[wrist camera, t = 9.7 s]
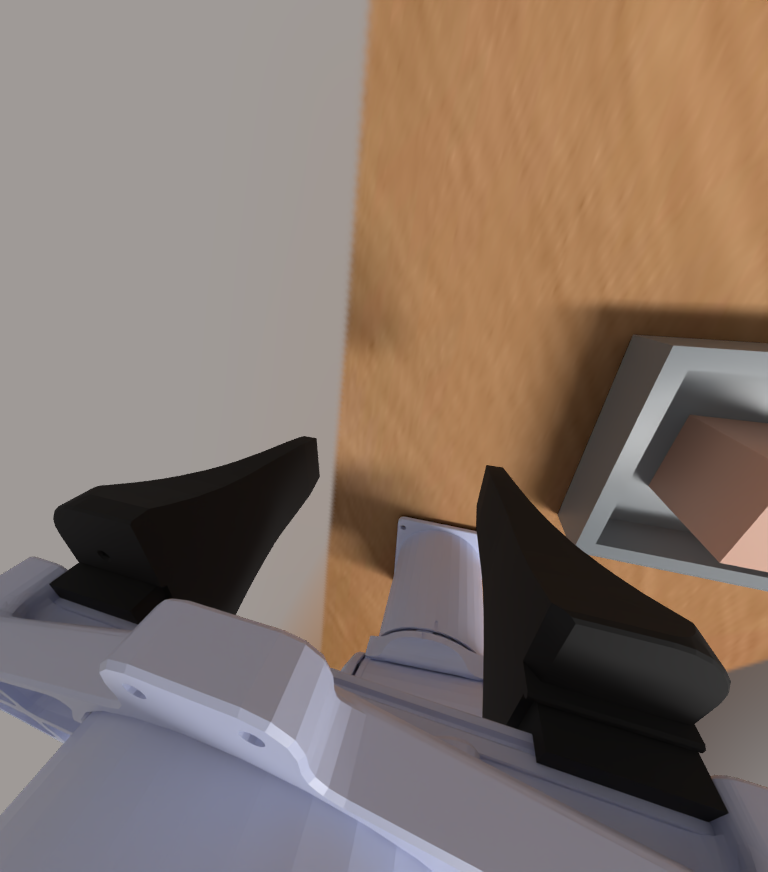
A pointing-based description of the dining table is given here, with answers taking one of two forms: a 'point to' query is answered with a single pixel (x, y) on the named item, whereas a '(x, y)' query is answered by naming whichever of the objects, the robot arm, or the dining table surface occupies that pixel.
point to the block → (720, 487)
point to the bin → (660, 451)
